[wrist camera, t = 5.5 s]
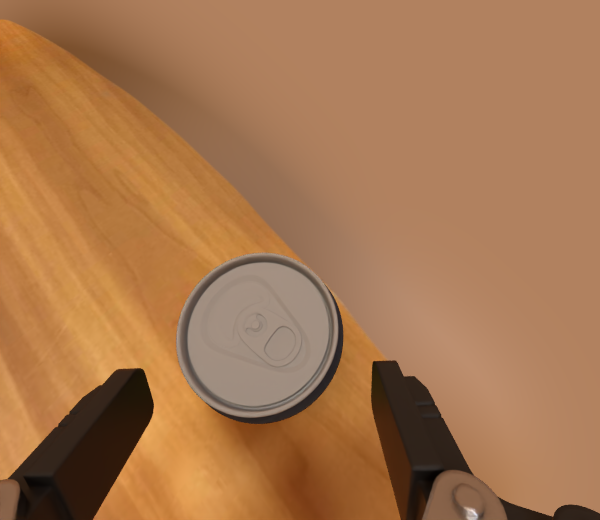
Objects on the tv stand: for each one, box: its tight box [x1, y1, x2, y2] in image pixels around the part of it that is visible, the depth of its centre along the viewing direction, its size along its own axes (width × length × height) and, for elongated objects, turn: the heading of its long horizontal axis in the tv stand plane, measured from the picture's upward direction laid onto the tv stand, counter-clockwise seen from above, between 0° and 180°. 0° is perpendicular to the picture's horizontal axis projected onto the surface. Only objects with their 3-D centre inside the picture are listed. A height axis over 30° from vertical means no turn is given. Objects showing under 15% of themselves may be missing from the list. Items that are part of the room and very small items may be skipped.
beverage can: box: [176, 253, 343, 424], centre depth 17 cm, size 6×6×15 cm
